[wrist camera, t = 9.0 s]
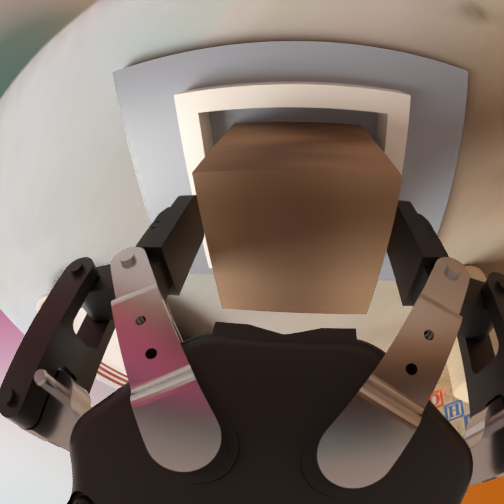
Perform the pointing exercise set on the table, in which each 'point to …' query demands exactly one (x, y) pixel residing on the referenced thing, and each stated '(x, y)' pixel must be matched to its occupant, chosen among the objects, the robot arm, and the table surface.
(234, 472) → the robot arm
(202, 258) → the baseplate
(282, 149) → the walnut block
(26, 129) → the table surface
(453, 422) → the stack of blocks
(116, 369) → the dinner plate
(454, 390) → the candle
